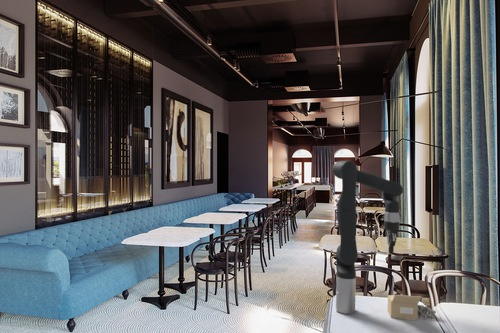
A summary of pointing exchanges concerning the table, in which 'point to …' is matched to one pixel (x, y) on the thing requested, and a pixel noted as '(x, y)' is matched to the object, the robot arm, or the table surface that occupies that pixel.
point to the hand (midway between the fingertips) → (391, 253)
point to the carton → (402, 309)
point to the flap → (406, 299)
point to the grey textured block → (423, 310)
